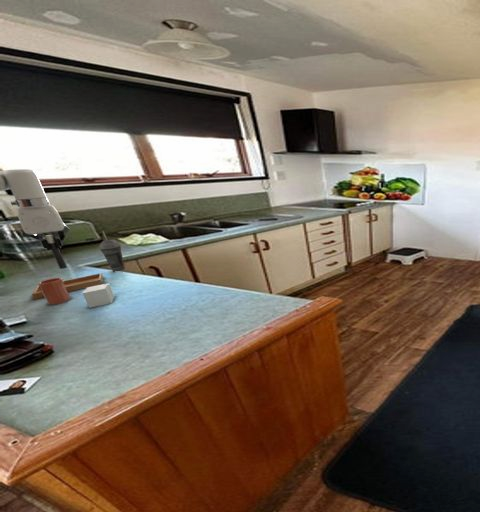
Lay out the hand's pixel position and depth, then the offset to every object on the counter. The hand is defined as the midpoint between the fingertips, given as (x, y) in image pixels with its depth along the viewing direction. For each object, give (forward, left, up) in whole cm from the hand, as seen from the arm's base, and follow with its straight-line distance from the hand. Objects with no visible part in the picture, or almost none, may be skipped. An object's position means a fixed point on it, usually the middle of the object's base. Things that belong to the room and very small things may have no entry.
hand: (54, 248), depth 110 cm
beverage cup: (+15, +13, -18) cm, 27 cm away
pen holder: (-2, -15, -18) cm, 23 cm away
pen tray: (0, 0, -18) cm, 18 cm away
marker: (0, 0, -9) cm, 9 cm away
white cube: (+10, -29, -18) cm, 35 cm away
